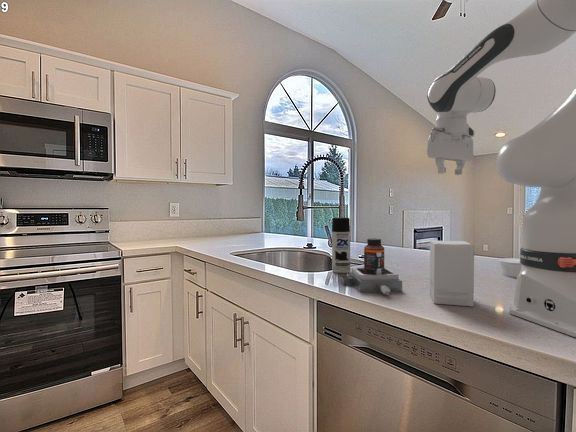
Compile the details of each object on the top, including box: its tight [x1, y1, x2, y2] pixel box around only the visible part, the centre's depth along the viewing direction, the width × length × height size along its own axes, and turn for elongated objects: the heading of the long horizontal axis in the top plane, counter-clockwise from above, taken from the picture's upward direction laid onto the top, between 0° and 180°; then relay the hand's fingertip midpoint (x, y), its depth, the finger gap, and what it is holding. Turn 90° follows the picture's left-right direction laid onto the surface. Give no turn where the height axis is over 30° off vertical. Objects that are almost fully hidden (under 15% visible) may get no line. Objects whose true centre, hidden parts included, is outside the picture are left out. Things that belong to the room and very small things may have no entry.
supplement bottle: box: [363, 237, 385, 274], centre depth 97 cm, size 6×6×11 cm
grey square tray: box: [340, 266, 403, 296], centre depth 95 cm, size 19×15×4 cm
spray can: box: [331, 217, 352, 274], centre depth 118 cm, size 7×7×20 cm
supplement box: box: [429, 240, 475, 308], centre depth 82 cm, size 9×9×15 cm
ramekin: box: [498, 257, 522, 279], centre depth 109 cm, size 11×11×5 cm
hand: (450, 174), depth 102 cm, fingers open, 8 cm apart
